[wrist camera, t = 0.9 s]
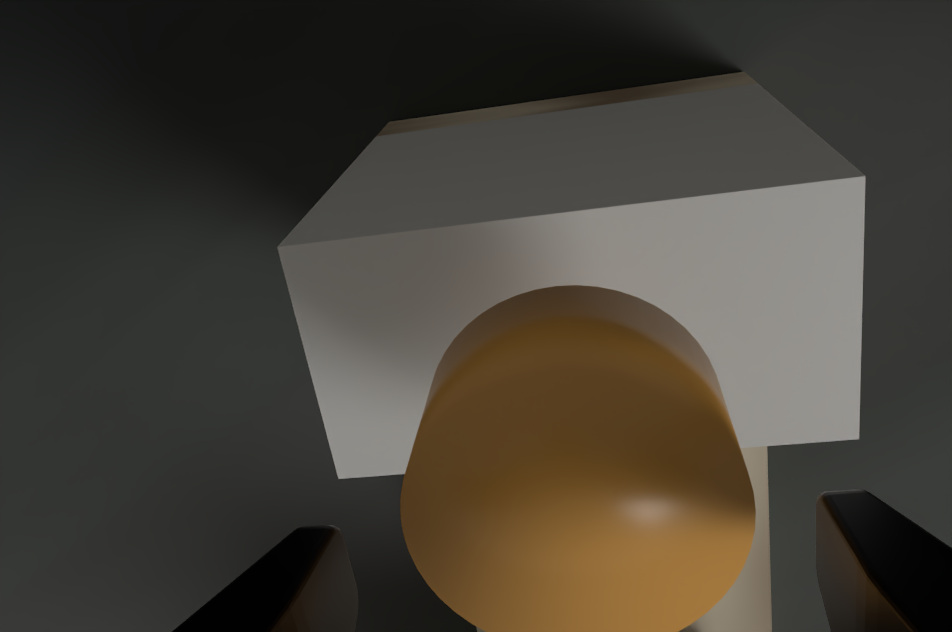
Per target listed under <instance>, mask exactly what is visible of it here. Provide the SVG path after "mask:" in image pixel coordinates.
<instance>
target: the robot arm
mask: <svg viewBox="0 0 952 632" xmlns="http://www.w3.org/2000/svg"><path fill="white" fill-rule="evenodd" d="M816 569H817V577H818V582H819V587H820V591H821V595H822V599H823V603H824V606H825V610H826V614H827V618H828V621H829V625H830V629H831V632H952V548H951V547H949V546H948V545H946V544H945V543H943V542H942V541H941V540H939V539H938V538H936V537H935V536H933V535H932V534H930V533H929V532H927V531H926V530H924V529H923V528H921V527H920V526H918V525H917V524H915V523H914V522H912V521H911V520H910V519H908V518H907V517H905V516H904V515H902V514H901V513H899V512H898V511H896V510H895V509H893V508H892V507H890V506H889V505H887V504H886V503H884V502H883V501H881V500H880V499H878V498H877V497H876V496H874V495H873V494H871V493H869V492H867V491H865V490H861V489H855V490H840V491H826V492H822V493H821V494H820V495H819V496H818V499H817V502H816ZM358 605H359V600H358V589H357V585H356V581H355V577H354V574H353V570H352V566H351V563H350V559H349V555H348V551H347V548H346V544H345V540H344V537H343V534H342V533H341V531H340V529H339V528H338V527H336V526H334V525H320V526H305V527H300V528H297V529H296V530H295V531H293V532H292V533H291V534H289V535H288V536H287V537H286V538H285V539H283V540H282V541H281V542H280V543H278V544H277V545H276V546H275V547H274V548H272V549H271V550H270V551H269V552H268V553H266V554H265V555H264V556H263V557H262V558H260V559H259V560H258V561H257V562H256V563H254V564H253V565H252V566H251V567H250V568H248V569H247V570H246V571H245V572H243V573H242V574H241V575H240V576H239V577H237V578H236V579H235V580H234V581H233V582H231V583H230V584H229V585H228V586H227V587H225V588H224V589H223V590H222V591H221V592H219V593H218V594H217V595H216V596H215V597H213V598H212V599H211V600H210V601H208V602H207V603H206V604H205V605H204V606H202V607H201V608H200V609H199V610H198V611H196V612H195V613H194V614H193V615H192V616H190V617H189V618H188V619H187V620H186V621H184V622H183V623H182V624H181V625H179V626H178V627H177V628H176V629H175V630H173V631H172V632H355V630H356V623H357V616H358Z"/></svg>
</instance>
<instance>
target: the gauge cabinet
mask: <svg viewBox="0 0 952 632" xmlns="http://www.w3.org/2000/svg"><path fill="white" fill-rule="evenodd" d="M864 212H865V175H864V174H862V173H861V172H860V171H859V170H858V169H857V168H855V167H854V166H853V165H852V164H851V163H850V162H848V161H847V160H846V159H845V158H844V157H843V156H841V155H840V154H839V153H838V152H837V151H836V150H834V149H833V148H832V147H831V146H830V145H829V144H828V143H826V142H825V141H824V140H823V139H822V138H821V137H819V136H818V135H817V134H816V133H815V132H814V131H812V130H811V129H810V128H809V127H808V126H807V125H805V124H804V123H803V122H802V121H801V120H800V119H798V118H797V117H796V116H795V115H794V114H793V113H791V112H790V111H789V110H788V109H787V108H786V107H784V106H783V105H782V104H781V103H780V102H779V101H777V100H776V99H775V98H774V97H773V96H772V95H771V94H769V93H768V92H767V91H766V90H765V89H764V88H762V87H761V86H760V85H759V84H750V85H743V86H736V87H729V88H722V89H714V90H707V91H700V92H693V93H686V94H678V95H671V96H664V97H657V98H650V99H642V100H635V101H628V102H621V103H614V104H606V105H599V106H592V107H585V108H578V109H570V110H563V111H556V112H549V113H542V114H534V115H527V116H520V117H513V118H506V119H498V120H491V121H484V122H477V123H470V124H462V125H455V126H448V127H441V128H434V129H426V130H419V131H412V132H405V133H398V134H390V135H383V136H376V137H375V138H374V139H373V140H372V142H371V143H370V144H369V145H368V146H367V147H366V148H365V149H364V151H363V152H362V153H361V154H360V155H359V156H358V157H357V158H356V159H355V161H354V162H353V163H352V164H351V165H350V166H349V167H348V168H347V170H346V171H345V172H344V173H343V174H342V175H341V176H340V177H339V179H338V180H337V181H336V182H335V183H334V184H333V185H332V186H331V187H330V189H329V190H328V191H327V192H326V193H325V194H324V195H323V196H322V198H321V199H320V200H319V201H318V202H317V203H316V204H315V205H314V207H313V208H312V209H311V210H310V211H309V212H308V213H307V214H306V215H305V217H304V218H303V219H302V220H301V221H300V222H299V223H298V224H297V226H296V227H295V228H294V229H293V230H292V231H291V232H290V233H289V234H288V236H287V237H286V238H285V239H284V240H283V241H282V242H281V243H280V245H279V246H278V247H277V248H278V252H279V256H280V259H281V263H282V267H283V271H284V275H285V278H286V282H287V286H288V290H289V293H290V297H291V301H292V305H293V309H294V312H295V316H296V320H297V324H298V328H299V331H300V335H301V339H302V343H303V346H304V350H305V354H306V358H307V362H308V365H309V369H310V373H311V377H312V381H313V384H314V388H315V392H316V396H317V399H318V403H319V407H320V411H321V415H322V418H323V422H324V426H325V430H326V434H327V437H328V441H329V445H330V449H331V452H332V456H333V460H334V464H335V468H336V471H337V475H338V479H344V478H357V477H371V476H384V475H397V474H405V472H406V468H407V465H408V462H409V458H410V455H411V451H412V448H413V445H414V441H415V438H416V435H417V431H418V428H419V424H420V421H421V418H422V414H423V411H424V408H425V404H426V401H427V397H428V394H429V391H430V387H431V384H432V381H433V378H434V375H435V372H436V369H437V366H438V364H439V362H440V361H441V359H442V357H443V355H444V353H445V351H446V350H447V348H448V347H449V345H450V344H451V343H452V341H453V340H454V338H455V337H456V336H457V335H458V334H459V333H460V332H461V331H462V330H463V329H464V328H465V327H466V326H467V325H468V324H469V323H470V322H471V321H473V320H474V319H475V318H476V317H478V316H479V315H480V314H481V313H483V312H484V311H486V310H488V309H489V308H491V307H493V306H494V305H496V304H498V303H500V302H502V301H504V300H507V299H509V298H511V297H513V296H516V295H519V294H522V293H525V292H529V291H532V290H535V289H541V288H547V287H553V286H567V285H582V286H596V287H602V288H607V289H612V290H617V291H620V292H623V293H626V294H629V295H632V296H635V297H638V298H640V299H642V300H644V301H646V302H648V303H650V304H653V305H655V306H656V307H658V308H659V309H661V310H663V311H664V312H666V313H667V314H669V315H670V316H672V317H673V318H674V319H675V320H676V321H678V322H679V323H680V324H681V325H682V326H684V327H685V328H686V329H687V330H688V331H689V333H690V334H691V335H692V336H693V337H694V338H695V339H696V340H697V341H698V343H699V344H700V346H701V347H702V349H703V350H704V352H705V353H706V355H707V356H708V358H709V360H710V362H711V364H712V366H713V368H714V371H715V373H716V375H717V378H718V381H719V384H720V388H721V391H722V394H723V397H724V400H725V403H726V406H727V409H728V412H729V415H730V418H731V421H732V424H733V427H734V431H735V434H736V437H737V440H738V443H739V446H740V448H749V447H762V446H775V445H788V444H801V443H814V442H827V441H840V440H853V439H859V417H860V376H861V335H862V294H863V253H864Z"/></svg>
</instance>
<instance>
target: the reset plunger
mask: <svg viewBox="0 0 952 632" xmlns="http://www.w3.org/2000/svg"><path fill="white" fill-rule="evenodd" d="M400 517H401V523H402V530H403V535H404V538H405V541H406V544H407V548H408V551H409V553H410V555H411V557H412V559H413V561H414V563H415V566H416V568H417V569H418V571H419V572H420V574H421V575H422V577H423V578H424V580H425V581H426V583H427V584H428V585H429V587H430V588H431V589H432V590H433V591H434V592H435V593H436V595H437V596H438V597H439V598H440V599H441V600H442V601H443V602H444V603H445V604H447V605H448V606H449V607H450V608H451V609H452V610H453V611H454V612H456V613H457V614H458V615H460V616H461V617H463V618H464V619H466V620H467V621H468V622H470V623H471V624H473V625H475V626H477V627H478V628H480V629H482V630H484V631H486V632H678V631H680V630H682V629H684V628H685V627H687V626H689V625H691V624H692V623H693V622H695V621H696V620H698V619H699V618H700V617H702V616H703V615H704V614H706V613H707V612H708V611H709V610H710V609H711V608H712V607H713V606H714V605H716V604H717V603H718V602H719V601H720V600H721V599H722V598H723V596H724V595H725V594H726V593H727V591H728V590H729V589H730V588H731V586H732V585H733V584H734V582H735V581H736V579H737V577H738V576H739V574H740V572H741V570H742V569H743V567H744V565H745V562H746V560H747V557H748V554H749V552H750V549H751V545H752V541H753V536H754V532H755V517H756V508H755V499H754V491H753V488H752V484H751V481H750V477H749V474H748V470H747V467H746V464H745V461H744V458H743V455H742V452H741V449H740V446H739V443H738V440H737V437H736V434H735V431H734V427H733V424H732V421H731V418H730V415H729V412H728V409H727V406H726V403H725V400H724V397H723V394H722V391H721V388H720V384H719V381H718V378H717V375H716V373H715V371H714V368H713V366H712V364H711V362H710V360H709V358H708V356H707V355H706V353H705V352H704V350H703V349H702V347H701V346H700V344H699V343H698V341H697V340H696V339H695V338H694V337H693V336H692V335H691V334H690V333H689V331H688V330H687V329H686V328H685V327H684V326H682V325H681V324H680V323H679V322H678V321H676V320H675V319H674V318H673V317H672V316H670V315H669V314H667V313H666V312H664V311H663V310H661V309H659V308H658V307H656V306H655V305H653V304H650V303H648V302H646V301H644V300H642V299H640V298H638V297H635V296H632V295H629V294H626V293H623V292H620V291H617V290H612V289H607V288H602V287H596V286H582V285H567V286H553V287H547V288H541V289H535V290H532V291H529V292H525V293H522V294H519V295H516V296H513V297H511V298H509V299H507V300H504V301H502V302H500V303H498V304H496V305H494V306H493V307H491V308H489V309H488V310H486V311H484V312H483V313H481V314H480V315H479V316H478V317H476V318H475V319H474V320H473V321H471V322H470V323H469V324H468V325H467V326H466V327H465V328H464V329H463V330H462V331H461V332H460V333H459V334H458V335H457V336H456V337H455V338H454V340H453V341H452V343H451V344H450V345H449V347H448V348H447V350H446V351H445V353H444V355H443V357H442V359H441V361H440V362H439V364H438V366H437V369H436V372H435V375H434V378H433V381H432V384H431V387H430V391H429V394H428V397H427V401H426V404H425V408H424V411H423V414H422V418H421V421H420V424H419V428H418V431H417V435H416V438H415V441H414V445H413V448H412V451H411V455H410V458H409V462H408V465H407V468H406V472H405V475H404V478H403V484H402V490H401V496H400Z"/></svg>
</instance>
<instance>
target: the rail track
mask: <svg viewBox="0 0 952 632" xmlns="http://www.w3.org/2000/svg"><path fill="white" fill-rule="evenodd" d="M750 84H758V83H757V82H755V81H754V80H753V79H752V78H751V77H750V76H748V75H747V74H746V73H745V72H739V73H732V74H725V75H718V76H711V77H703V78H696V79H689V80H682V81H675V82H668V83H661V84H654V85H647V86H640V87H633V88H626V89H618V90H611V91H604V92H597V93H590V94H583V95H576V96H569V97H562V98H555V99H548V100H541V101H533V102H526V103H519V104H512V105H505V106H498V107H491V108H484V109H477V110H470V111H463V112H456V113H448V114H441V115H434V116H427V117H420V118H413V119H406V120H399V121H392V122H389V123H388V124H387V125H386V126H385V127H384V128H383V129H382V130H381V132H380V133H379V134H378V135H377V136H383V135H390V134H398V133H405V132H412V131H419V130H426V129H434V128H441V127H448V126H455V125H462V124H470V123H477V122H484V121H491V120H498V119H506V118H513V117H520V116H527V115H534V114H542V113H549V112H556V111H563V110H570V109H578V108H585V107H592V106H599V105H606V104H614V103H621V102H628V101H635V100H642V99H650V98H657V97H664V96H671V95H678V94H686V93H693V92H700V91H707V90H714V89H722V88H729V87H736V86H743V85H750ZM740 449H741V452H742V455H743V458H744V461H745V464H746V467H747V470H748V474H749V477H750V481H751V484H752V488H753V491H754V499H755V508H756V517H755V532H754V536H753V541H752V545H751V549H750V552H749V554H748V557H747V560H746V562H745V565H744V567H743V569H742V570H741V572H740V574H739V576H738V577H737V579H736V581H735V582H734V584H733V585H732V586H731V588H730V589H729V590H728V591H727V593H726V594H725V595H724V596H723V598H722V599H721V600H720V601H719V602H718V603H717V604H716V605H714V606H713V607H712V608H711V609H710V610H709V611H708V612H707V613H706V614H704V615H703V616H702V617H700V618H699V619H698V620H696V621H695V622H693V623H692V624H691V625H689V626H687V627H685V628H684V629H682V630H680V631H678V632H772V620H771V581H770V542H769V504H768V465H767V446H762V447H749V448H740ZM476 628H477V632H486V631H484V630H482V629H480V628H478V627H477V626H476Z"/></svg>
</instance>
